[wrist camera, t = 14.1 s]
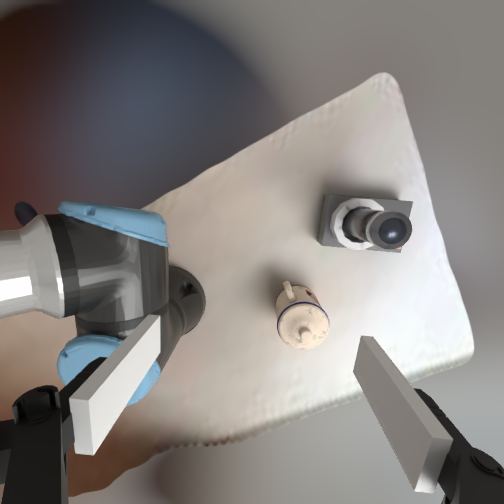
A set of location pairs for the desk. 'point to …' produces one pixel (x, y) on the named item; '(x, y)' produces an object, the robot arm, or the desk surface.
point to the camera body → (340, 206)
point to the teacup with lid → (300, 317)
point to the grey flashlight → (378, 227)
